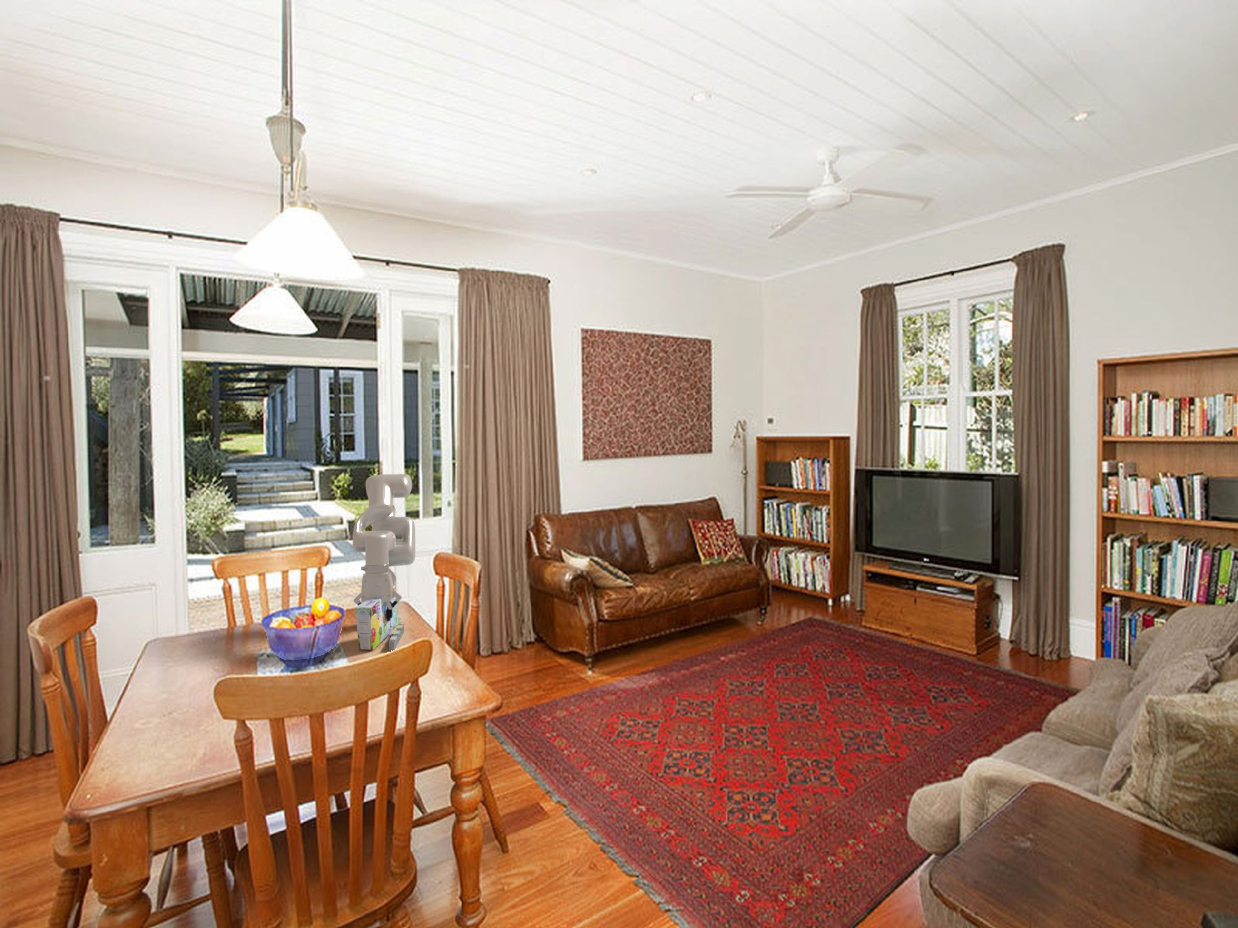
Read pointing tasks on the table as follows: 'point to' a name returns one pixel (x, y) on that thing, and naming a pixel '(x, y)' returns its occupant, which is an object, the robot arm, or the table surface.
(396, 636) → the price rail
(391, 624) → the snack box
